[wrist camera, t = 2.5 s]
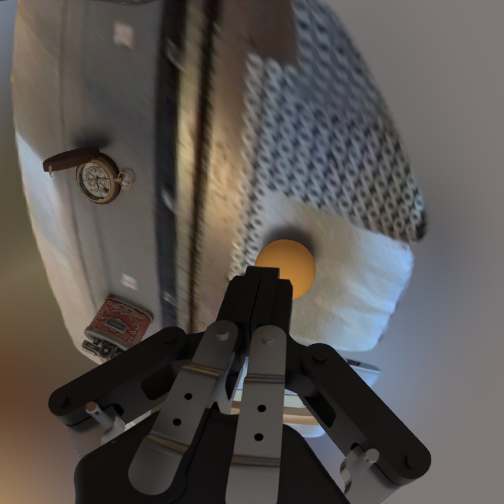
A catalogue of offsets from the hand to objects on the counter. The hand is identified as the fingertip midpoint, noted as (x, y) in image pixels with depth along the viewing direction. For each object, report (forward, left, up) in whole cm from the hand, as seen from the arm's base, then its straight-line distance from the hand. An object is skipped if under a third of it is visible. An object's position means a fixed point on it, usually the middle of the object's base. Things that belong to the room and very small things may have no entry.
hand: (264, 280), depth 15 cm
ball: (+9, 0, -13) cm, 16 cm away
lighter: (+21, -23, -16) cm, 35 cm away
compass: (0, -20, -16) cm, 25 cm away
